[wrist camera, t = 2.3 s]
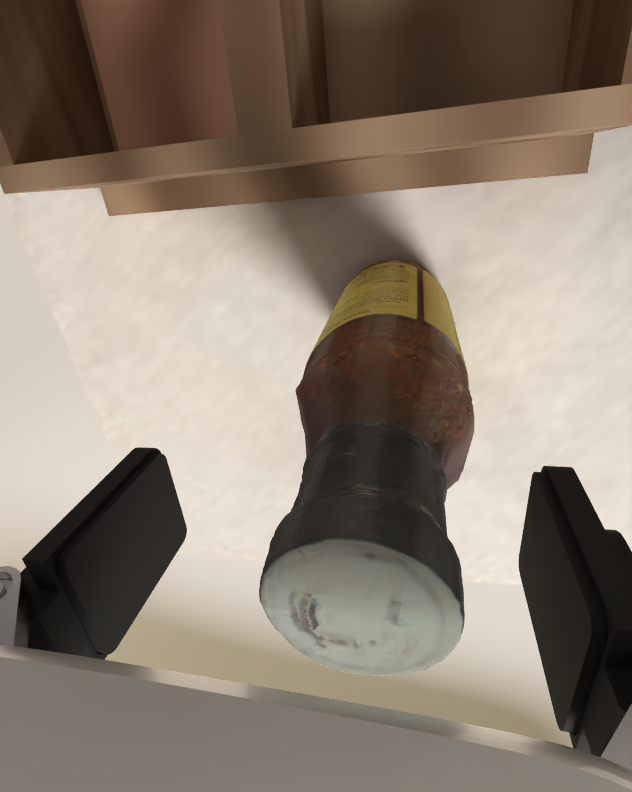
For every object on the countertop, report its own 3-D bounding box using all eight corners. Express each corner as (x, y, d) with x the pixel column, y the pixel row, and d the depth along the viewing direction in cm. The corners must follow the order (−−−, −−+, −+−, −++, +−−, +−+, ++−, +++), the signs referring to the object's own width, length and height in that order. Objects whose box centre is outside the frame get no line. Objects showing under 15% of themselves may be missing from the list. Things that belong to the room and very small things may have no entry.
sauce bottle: (325, 330, 27) (145, 616, 10) (372, 235, 24) (225, 411, 7) (418, 379, 27) (400, 745, 10) (477, 289, 24) (600, 603, 7)
